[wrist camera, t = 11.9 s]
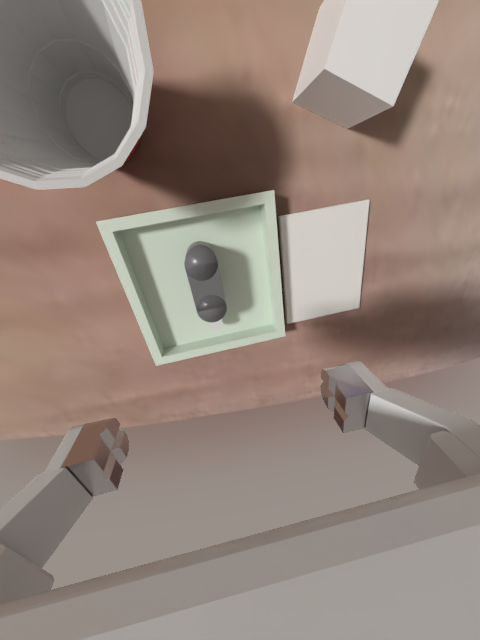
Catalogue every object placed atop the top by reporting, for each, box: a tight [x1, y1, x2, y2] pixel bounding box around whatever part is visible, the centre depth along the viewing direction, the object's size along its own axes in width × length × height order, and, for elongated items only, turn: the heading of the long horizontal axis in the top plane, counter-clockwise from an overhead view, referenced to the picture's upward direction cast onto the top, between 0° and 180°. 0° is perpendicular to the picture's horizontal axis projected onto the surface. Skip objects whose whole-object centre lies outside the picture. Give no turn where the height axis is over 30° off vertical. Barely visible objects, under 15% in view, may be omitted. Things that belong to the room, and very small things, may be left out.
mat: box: [278, 200, 370, 324], centre depth 28 cm, size 10×13×1 cm
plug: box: [184, 241, 227, 330], centre depth 24 cm, size 9×3×4 cm, turn 9°
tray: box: [96, 190, 285, 366], centre depth 25 cm, size 16×16×2 cm
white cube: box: [292, 0, 439, 129], centre depth 18 cm, size 6×6×6 cm
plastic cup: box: [0, 0, 154, 190], centre depth 14 cm, size 11×11×12 cm
